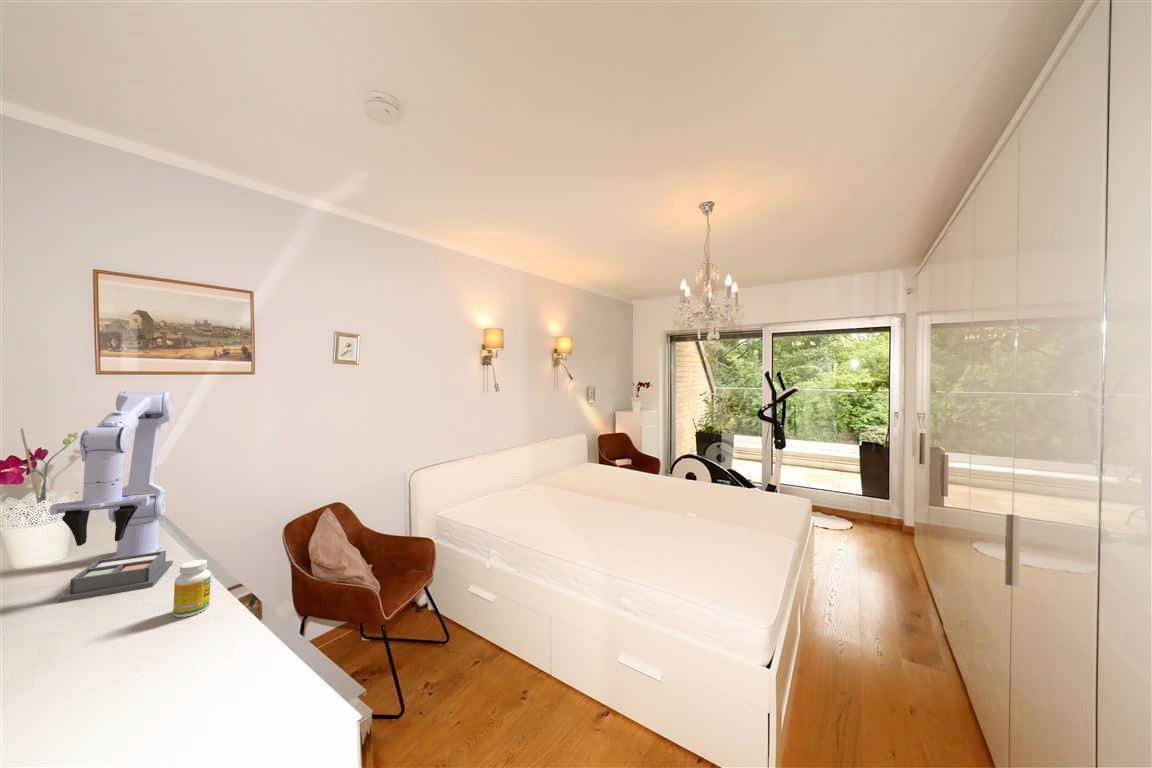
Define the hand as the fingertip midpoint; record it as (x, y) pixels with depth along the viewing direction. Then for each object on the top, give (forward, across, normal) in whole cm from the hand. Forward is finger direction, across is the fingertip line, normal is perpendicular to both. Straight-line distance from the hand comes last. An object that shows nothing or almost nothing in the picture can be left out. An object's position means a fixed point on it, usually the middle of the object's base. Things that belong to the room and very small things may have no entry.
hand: (100, 542), depth 90 cm
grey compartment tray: (+10, +3, +3) cm, 11 cm away
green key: (+8, 0, 0) cm, 8 cm away
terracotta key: (+8, +6, 0) cm, 10 cm away
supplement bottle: (+11, +20, -22) cm, 32 cm away
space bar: (+8, +3, +6) cm, 10 cm away
